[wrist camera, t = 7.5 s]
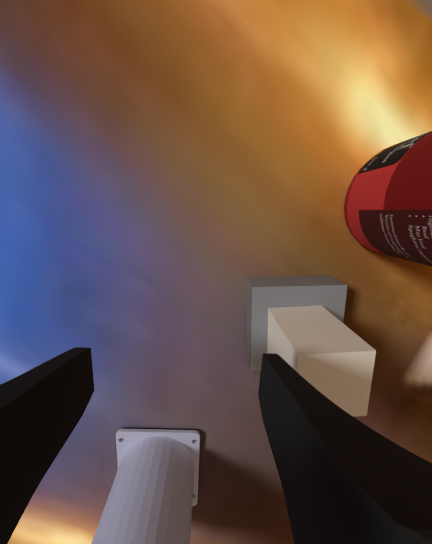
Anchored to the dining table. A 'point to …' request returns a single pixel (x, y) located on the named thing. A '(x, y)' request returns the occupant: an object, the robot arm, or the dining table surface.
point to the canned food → (394, 201)
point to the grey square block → (286, 305)
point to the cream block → (324, 354)
